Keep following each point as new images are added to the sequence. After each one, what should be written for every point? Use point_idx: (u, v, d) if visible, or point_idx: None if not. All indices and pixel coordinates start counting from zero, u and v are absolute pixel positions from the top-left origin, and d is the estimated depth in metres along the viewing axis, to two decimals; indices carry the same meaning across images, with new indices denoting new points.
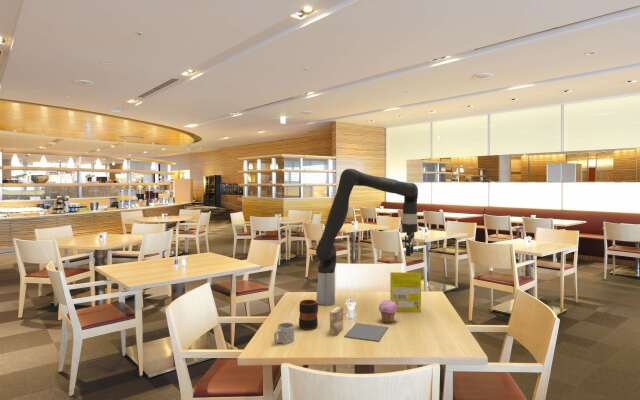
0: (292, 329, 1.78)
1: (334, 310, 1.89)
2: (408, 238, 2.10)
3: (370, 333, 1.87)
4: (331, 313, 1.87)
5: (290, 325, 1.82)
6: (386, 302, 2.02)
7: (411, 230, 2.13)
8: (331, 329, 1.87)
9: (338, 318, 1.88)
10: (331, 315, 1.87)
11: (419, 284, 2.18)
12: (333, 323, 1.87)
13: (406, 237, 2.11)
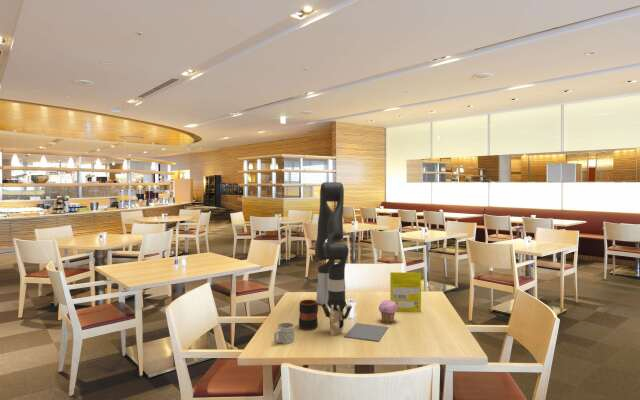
0: (292, 329, 1.78)
1: (334, 310, 1.89)
2: (350, 309, 1.88)
3: (370, 333, 1.87)
4: (331, 313, 1.87)
5: (290, 325, 1.82)
6: (386, 302, 2.02)
7: None
8: (331, 329, 1.87)
9: (339, 318, 1.88)
10: (331, 315, 1.87)
11: (419, 284, 2.18)
12: (333, 323, 1.87)
13: (350, 309, 1.87)
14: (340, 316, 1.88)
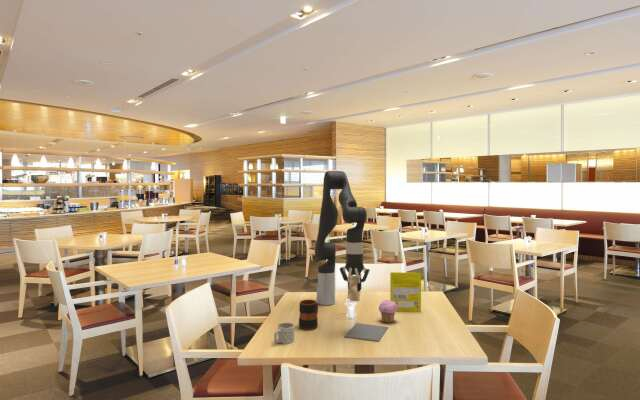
0: (292, 329, 1.78)
1: None
2: (368, 272, 1.89)
3: (370, 333, 1.87)
4: (351, 277, 1.89)
5: (290, 325, 1.82)
6: (386, 302, 2.02)
7: None
8: (349, 293, 1.87)
9: None
10: (351, 279, 1.89)
11: (419, 284, 2.18)
12: (351, 287, 1.87)
13: (368, 272, 1.88)
14: (358, 279, 1.89)
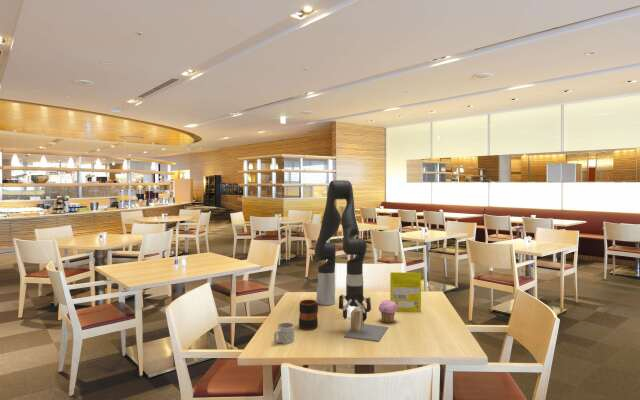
0: (292, 329, 1.78)
1: None
2: (370, 300, 1.89)
3: (370, 333, 1.87)
4: (358, 306, 1.99)
5: (290, 325, 1.82)
6: (386, 302, 2.02)
7: None
8: (353, 310, 1.93)
9: (362, 313, 1.96)
10: (357, 307, 1.99)
11: (419, 284, 2.18)
12: (357, 309, 1.95)
13: (369, 300, 1.88)
14: (362, 309, 1.89)
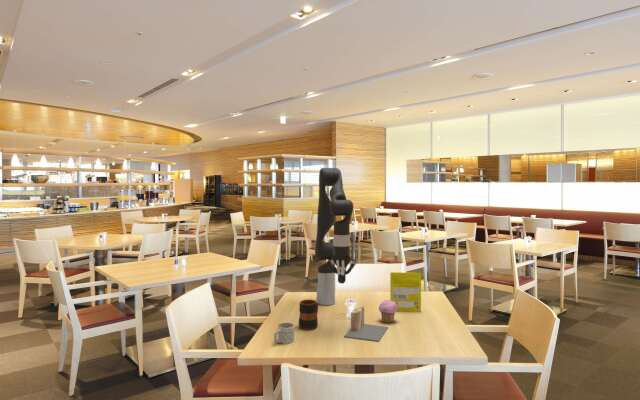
0: (292, 329, 1.78)
1: None
2: None
3: (370, 333, 1.87)
4: (358, 306, 1.99)
5: (290, 325, 1.82)
6: (386, 302, 2.02)
7: None
8: (353, 310, 1.93)
9: (362, 313, 1.96)
10: (357, 307, 1.99)
11: (419, 284, 2.18)
12: (357, 309, 1.95)
13: (354, 265, 1.90)
14: (343, 271, 1.91)
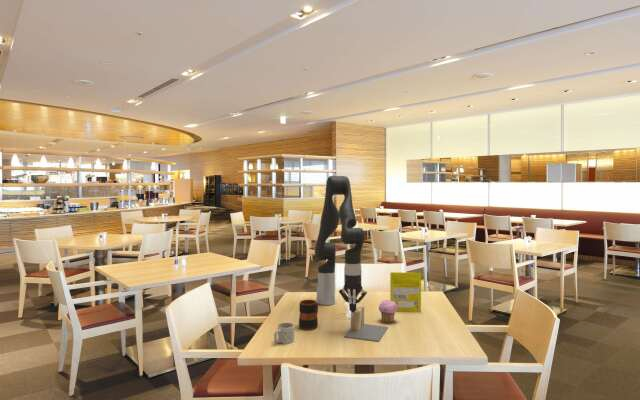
0: (292, 329, 1.78)
1: None
2: None
3: (370, 333, 1.87)
4: (358, 306, 1.99)
5: (290, 325, 1.82)
6: (386, 302, 2.02)
7: None
8: None
9: (362, 313, 1.96)
10: (357, 307, 1.99)
11: (419, 284, 2.18)
12: (357, 309, 1.95)
13: (365, 294, 1.88)
14: (354, 300, 1.90)
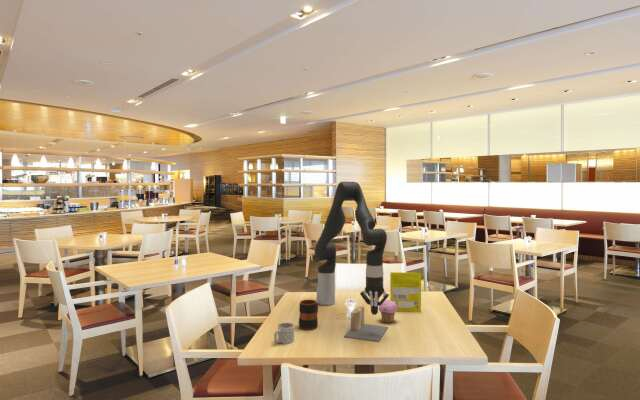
0: (292, 329, 1.78)
1: None
2: None
3: (370, 333, 1.87)
4: (358, 306, 1.99)
5: (290, 325, 1.82)
6: (386, 302, 2.02)
7: None
8: (353, 310, 1.93)
9: (362, 313, 1.96)
10: (357, 307, 1.99)
11: (419, 284, 2.18)
12: (357, 309, 1.95)
13: None
14: (375, 302, 1.86)
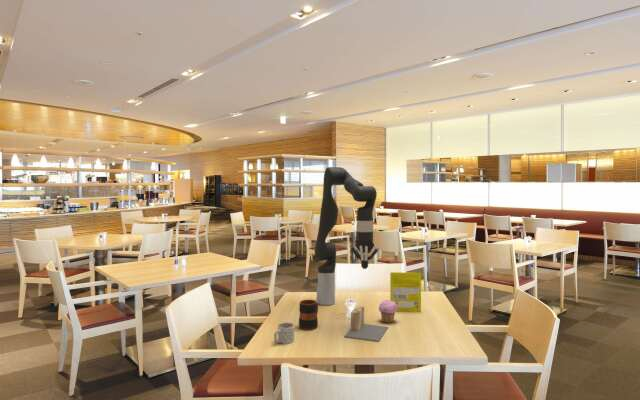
0: (292, 329, 1.78)
1: None
2: (377, 251, 1.93)
3: (370, 333, 1.87)
4: (358, 306, 1.99)
5: (290, 325, 1.82)
6: (386, 302, 2.02)
7: None
8: (353, 310, 1.93)
9: (362, 313, 1.96)
10: (357, 307, 1.99)
11: (419, 284, 2.18)
12: (357, 309, 1.95)
13: (377, 251, 1.92)
14: (366, 257, 1.93)
